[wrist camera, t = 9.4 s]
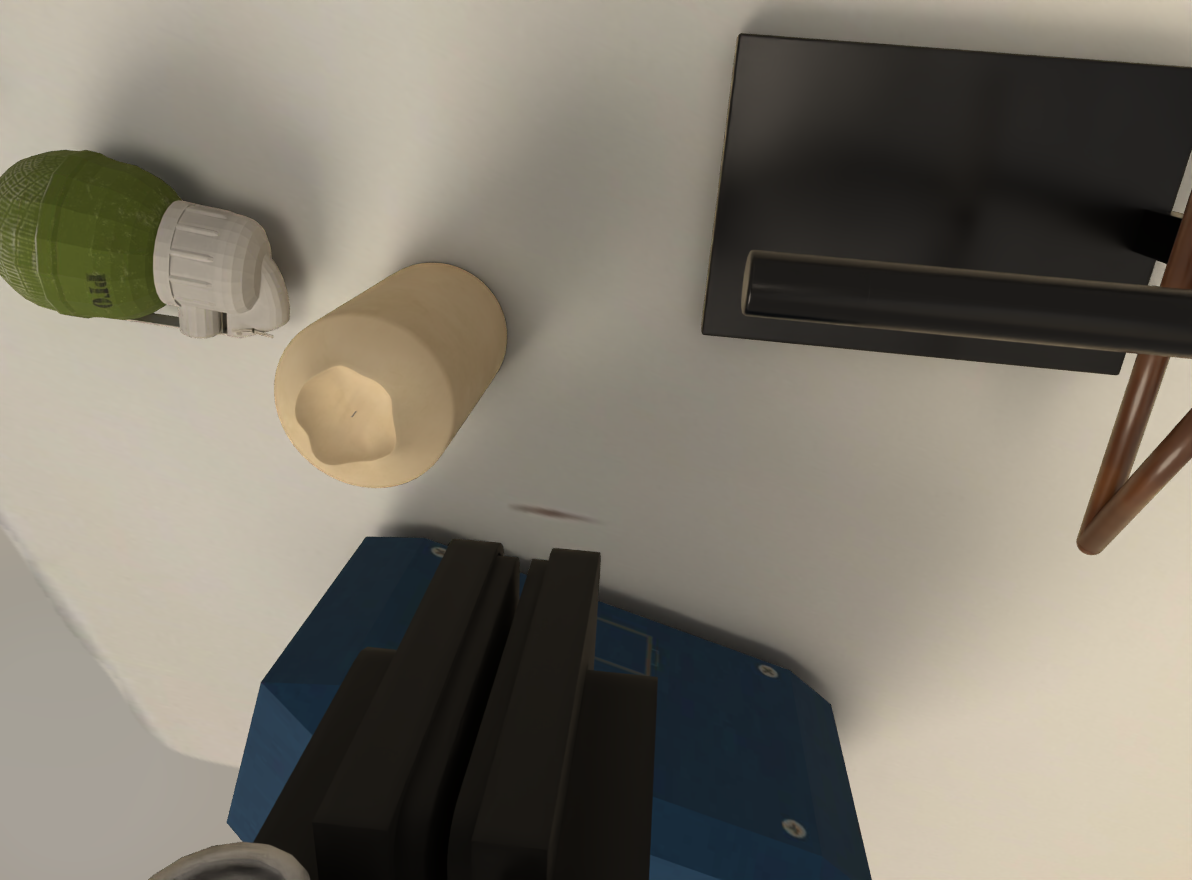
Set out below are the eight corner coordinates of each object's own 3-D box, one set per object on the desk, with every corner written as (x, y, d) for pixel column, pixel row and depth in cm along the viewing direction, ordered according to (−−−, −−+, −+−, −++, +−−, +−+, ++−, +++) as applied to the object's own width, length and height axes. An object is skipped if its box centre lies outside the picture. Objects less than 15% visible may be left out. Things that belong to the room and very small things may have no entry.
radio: (337, 659, 40) (36, 1146, 22) (382, 503, 37) (70, 924, 18) (753, 807, 41) (808, 1398, 22) (835, 668, 37) (978, 1229, 19)
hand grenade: (-34, 344, 29) (265, 396, 31) (-78, 167, 26) (264, 235, 27) (52, 268, 34) (308, 316, 36) (25, 109, 30) (312, 170, 32)
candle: (536, 319, 33) (478, 407, 24) (460, 424, 35) (378, 543, 26) (417, 230, 32) (307, 286, 23) (345, 343, 34) (218, 436, 25)
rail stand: (736, 35, 28) (793, -32, 13) (1201, 70, 28) (1843, 42, 12) (700, 326, 32) (712, 538, 17) (1107, 366, 31) (1507, 627, 16)
